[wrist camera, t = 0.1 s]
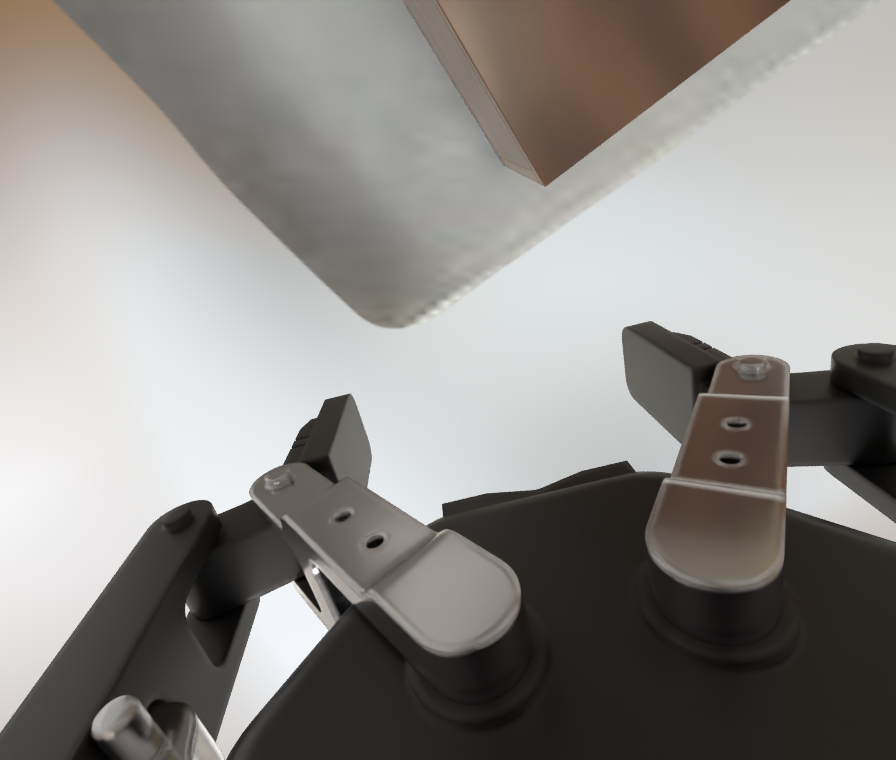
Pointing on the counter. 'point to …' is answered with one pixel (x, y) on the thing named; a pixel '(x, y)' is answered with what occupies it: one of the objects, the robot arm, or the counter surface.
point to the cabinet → (573, 65)
